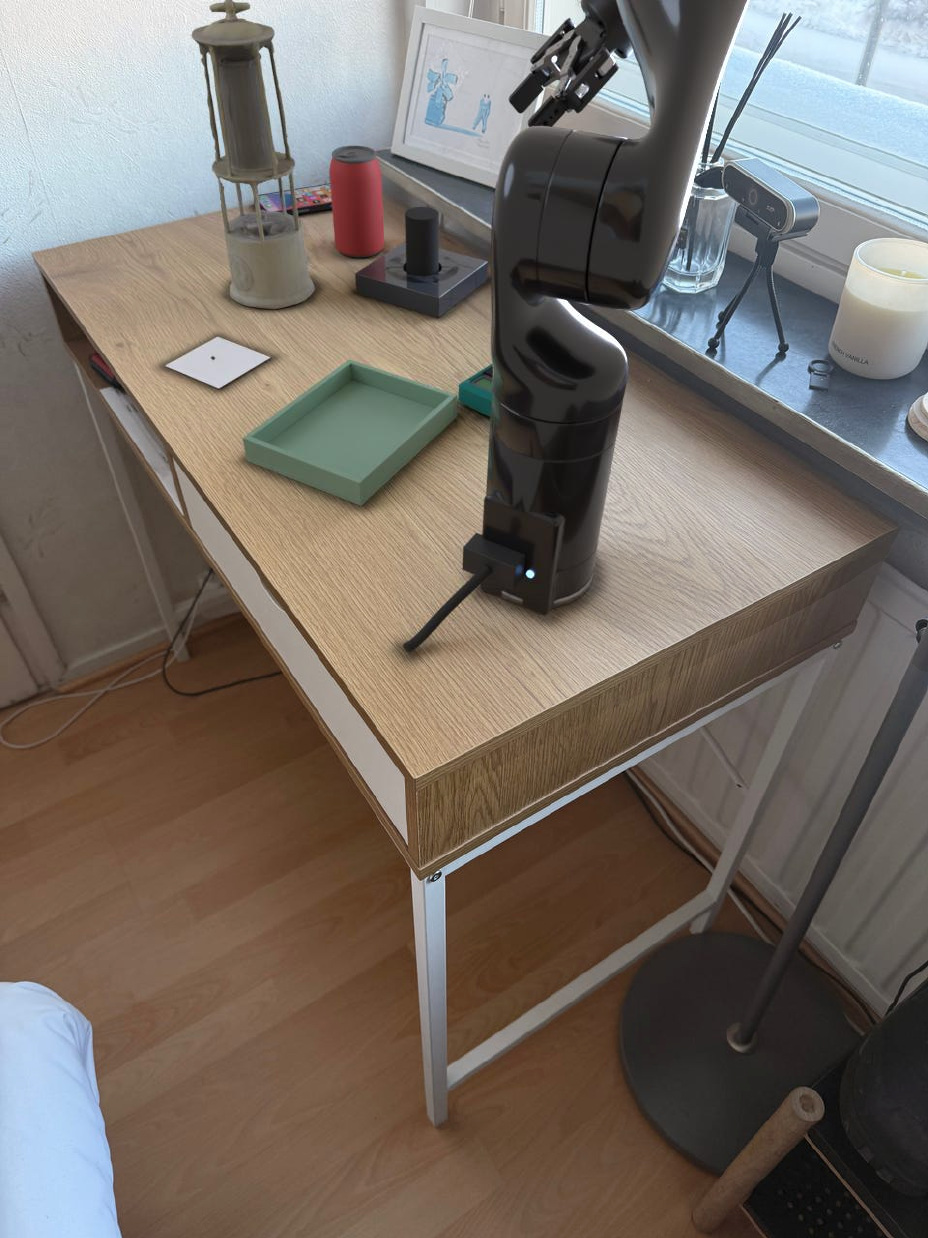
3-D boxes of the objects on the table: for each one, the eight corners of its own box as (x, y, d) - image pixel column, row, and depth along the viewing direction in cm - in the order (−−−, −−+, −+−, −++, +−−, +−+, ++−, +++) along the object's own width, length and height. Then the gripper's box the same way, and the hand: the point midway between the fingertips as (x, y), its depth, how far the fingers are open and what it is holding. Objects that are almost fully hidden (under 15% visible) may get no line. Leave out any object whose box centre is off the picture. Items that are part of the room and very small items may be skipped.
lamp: (232, 312, 103) (179, 10, 82) (226, 266, 112) (177, -18, 91) (319, 305, 105) (289, 8, 84) (307, 260, 114) (278, -20, 92)
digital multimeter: (590, 373, 96) (593, 348, 93) (512, 431, 87) (514, 405, 85) (535, 351, 99) (537, 327, 97) (455, 405, 90) (455, 380, 88)
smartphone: (251, 195, 126) (347, 180, 131) (252, 202, 127) (348, 186, 132) (267, 213, 122) (366, 196, 127) (268, 220, 123) (366, 203, 127)
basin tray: (361, 506, 78) (359, 483, 76) (246, 460, 83) (242, 437, 81) (457, 416, 89) (457, 394, 87) (350, 380, 93) (349, 358, 91)
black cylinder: (427, 296, 107) (427, 222, 101) (400, 288, 109) (398, 214, 102) (444, 284, 110) (445, 211, 103) (417, 276, 111) (416, 203, 105)
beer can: (331, 241, 118) (322, 145, 110) (378, 236, 120) (373, 141, 111) (340, 261, 114) (333, 163, 105) (389, 256, 115) (386, 159, 107)
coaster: (270, 357, 96) (269, 350, 95) (218, 388, 91) (217, 381, 91) (217, 336, 99) (216, 330, 98) (164, 365, 94) (163, 359, 93)
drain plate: (438, 317, 104) (439, 297, 102) (356, 293, 108) (354, 273, 106) (487, 280, 111) (488, 260, 109) (407, 258, 115) (407, 239, 113)
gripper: (594, -50, 94) (486, 75, 100) (639, -23, 84) (517, 113, 91) (632, 8, 99) (527, 123, 105) (679, 39, 89) (561, 165, 95)
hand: (523, 118), depth 98 cm, fingers open, 8 cm apart
